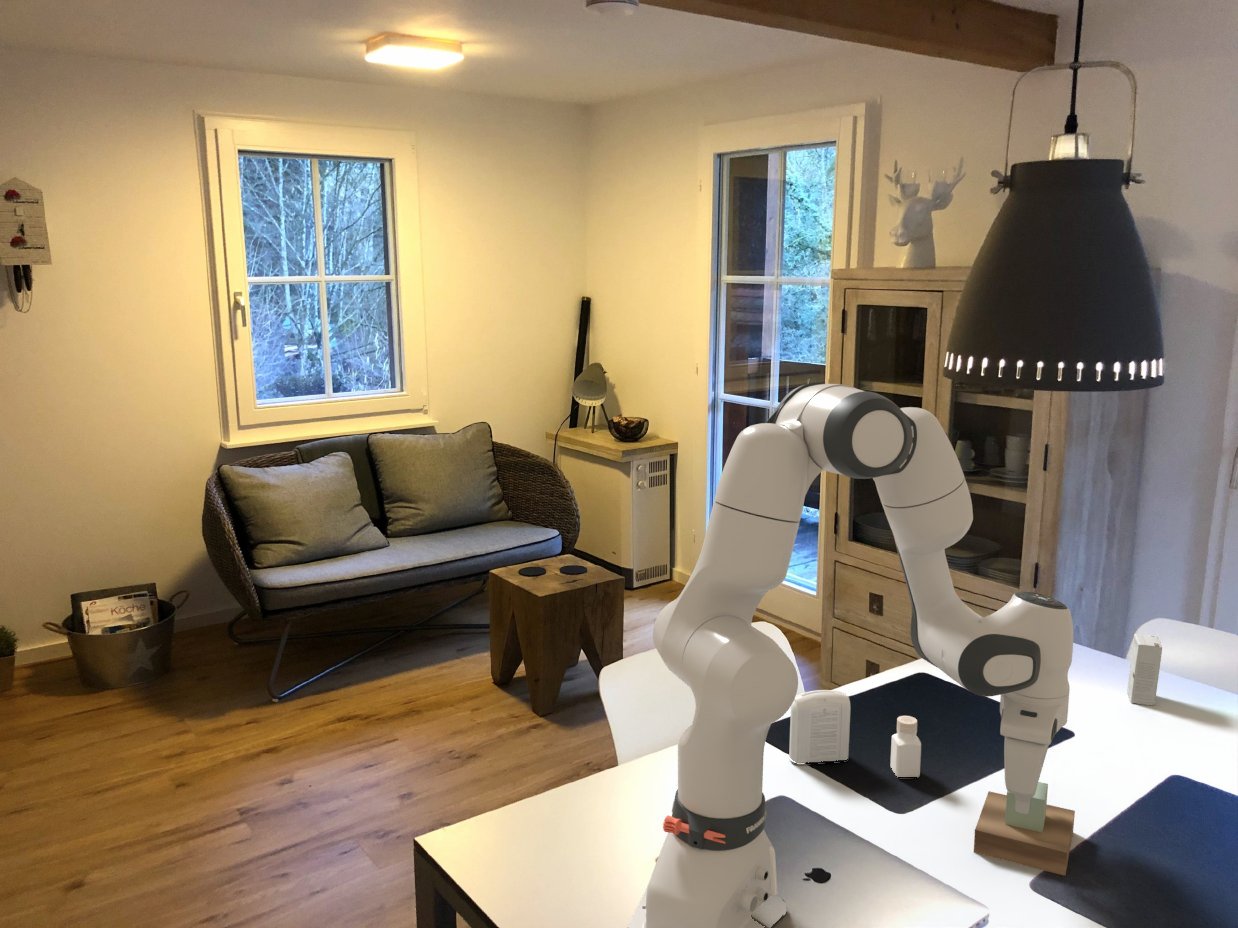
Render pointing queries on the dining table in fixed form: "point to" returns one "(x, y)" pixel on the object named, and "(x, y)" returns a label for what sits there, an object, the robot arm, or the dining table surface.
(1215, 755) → the dining table surface
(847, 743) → the white rounded block
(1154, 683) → the skincare box
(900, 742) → the salt shaker
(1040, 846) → the walnut block
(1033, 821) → the green cube
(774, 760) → the dining table surface
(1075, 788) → the dining table surface
